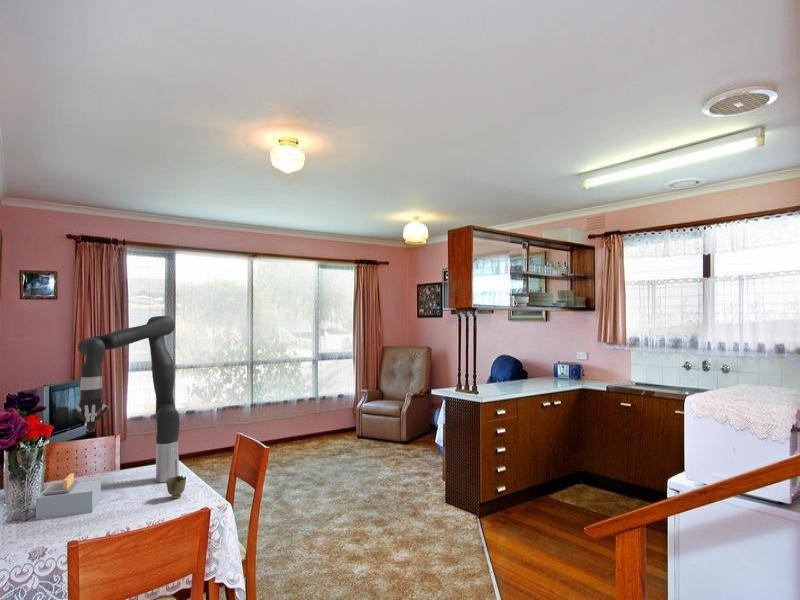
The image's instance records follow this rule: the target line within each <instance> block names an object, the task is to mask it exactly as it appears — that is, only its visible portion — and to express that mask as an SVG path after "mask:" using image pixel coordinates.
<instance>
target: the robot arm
mask: <svg viewBox="0 0 800 600" xmlns="http://www.w3.org/2000/svg"><path fill="white" fill-rule="evenodd" d="M175 327H176V323H175V320H174V319H173V318H172V317H170V316H167V315H157V316H151V317H150V318H149V319H148V320H147V323H146V324H141V325H138V326H133V327H127V328H124V329H118V330H115V331H112V332H109V333H105V334H103V335H97V336H96V335H95V336H92V337H91V336H90V337H88V338H85V339H82V340H81V341H80V342H79V343H78V345H77V349H78V351H79V353H80V354H81V355H82V356H83V355H84V356H86V358H85V362H83V363H82V364H81V367H80V369H81V370H80V374H81V375H80V376H81V377H80V383H79V385H80V386H79V389H80V390H79V395H80V397H79V403H78V406H77V407H75V408H73V409H72V412H73V413H74V414H75V415H76V416H77V417H78V419H80V420H81V422H86V430H87V431H88V432H94V430H95V429H96V427H97V426H96V423H97V421H98V420H100V419H101V418H102V417H103V416H105V415H104V414H105V413H106V412H107V411H108V410H109V409H110V406H109V405H106V404H105V403H104V401H103V377H102V376H103V374H102V369H103V368H102V365H103V362H104V358H105V354H106V351H107V350H115V349H118V348H121V347H125V346H127V345H130V344H133V343H137V342H139V341H142V340H146V339H148V343H149V349H150V359H151V375H152V382H153V389H154V394H155V415H154V417H155V421H156V437H155V481H156V482H157V483H167V481H166V480H167V479H169V478H171V477H172V478H173V477H174V476H175V477H177V476H180V472H179V471H180V469H179V468H180V467H179V465H180V464H179V462H180V461H179V460H180V459H179V457H180V456H179V435H180V413H179V411H178V410H177V409H176V406H175V401H174V386H175V365H174V360H173V359H172V357H171V354H170V352H169V351H168V349H167V345H166V339H165V336H169V335H170V334H171V333H173V332H174V330H175V329H176V328H175ZM100 409H101V412H100V413H99V414H98V412H99V410H100ZM82 412H83V413H82ZM84 414H85V415H84ZM97 414H98V415H97Z"/></svg>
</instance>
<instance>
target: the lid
mask: <svg viewBox="0 0 800 600" xmlns="http://www.w3.org/2000/svg"><path fill="white" fill-rule="evenodd" d="M77 483H78V480H75V473H74V472H73V473H71V472H70V473H69V474H68V475H67V476H66V477H65V478H64V479H63V481H61V482H60V481H59V482H54V483H52V485H50V486H51V487H50V488H49V489H47V490H46V491H45V492H44V495H52V494H60V493H69V492H70V490H71V489H72V488H73V487H74V486H75V485H76V484H77ZM44 495H43V496H44Z"/></svg>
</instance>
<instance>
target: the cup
mask: <svg viewBox="0 0 800 600" xmlns="http://www.w3.org/2000/svg"><path fill="white" fill-rule="evenodd" d="M166 481H167V482H166V487H167V492H168V494H169V495H170V496H171V498H172V499H173V500H178V499H179V498H181V497H182V493H183V492H184V491H185V489H186V481H187V477H186V475H185V476H183V475H179V476H177V477H175V476H174V477H173V478H172V477H171V478H169V479H167V480H166Z"/></svg>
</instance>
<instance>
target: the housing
mask: <svg viewBox="0 0 800 600" xmlns="http://www.w3.org/2000/svg"><path fill="white" fill-rule="evenodd" d="M51 486H52V485H48V486H47V487H46V488H45V489H44V490H43V491H42V492H41V493H40V494H39V495H38V496H37V497H36V498H35V501H36V502H35V520H36V521H37V520H38V519H39V520H44V519H43V518H46V519H54V518H60V517H66V516H67V517H68V516H74V515H83V514H90V513H94V510H95V509H96V507H97V506H98V505H99V503H100V501H101V500H102V480H101V479H97V480H88V481H80V482H78V483H77V484H76V485H75V486H74V487H73V488H72V489H71V490H70V492H69V493H60V494H52V495H44V492H45V491H46V490H47V489H49V488H50V487H51ZM43 495H44V496H43Z"/></svg>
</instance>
